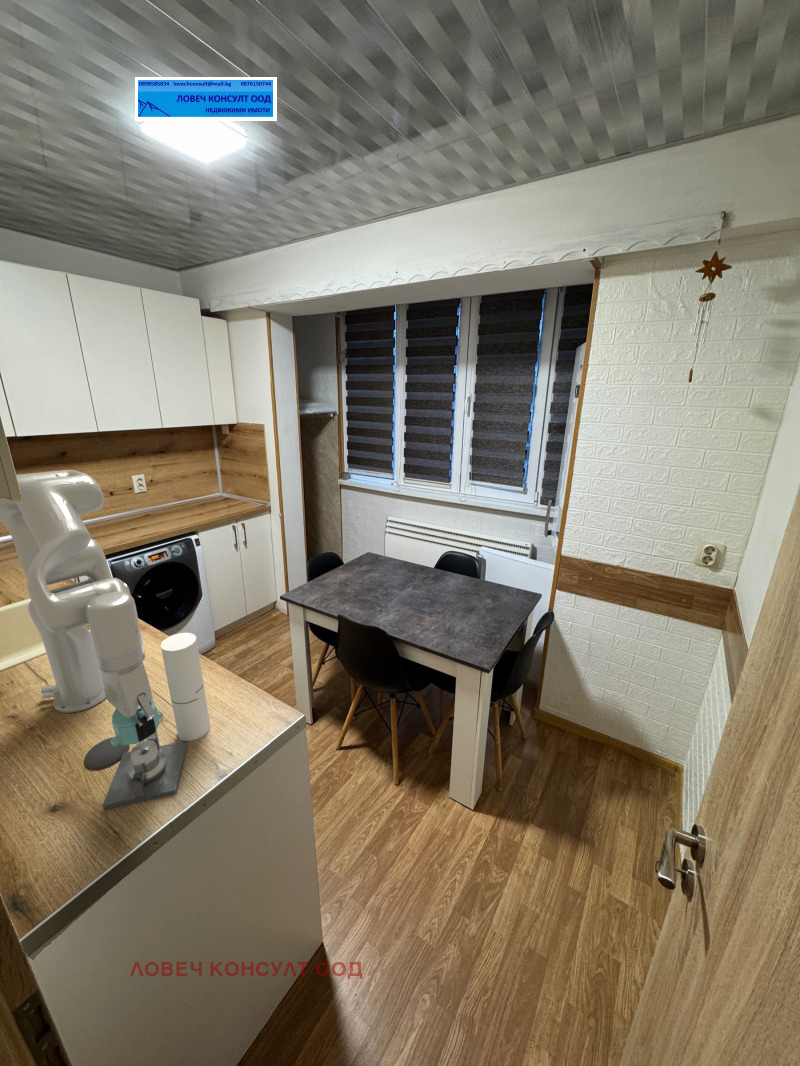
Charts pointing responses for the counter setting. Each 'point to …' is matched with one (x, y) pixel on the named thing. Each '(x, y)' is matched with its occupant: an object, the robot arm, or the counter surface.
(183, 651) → the cylindrical container
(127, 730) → the cap
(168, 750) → the grey square base plate
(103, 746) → the coaster
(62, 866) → the counter surface
